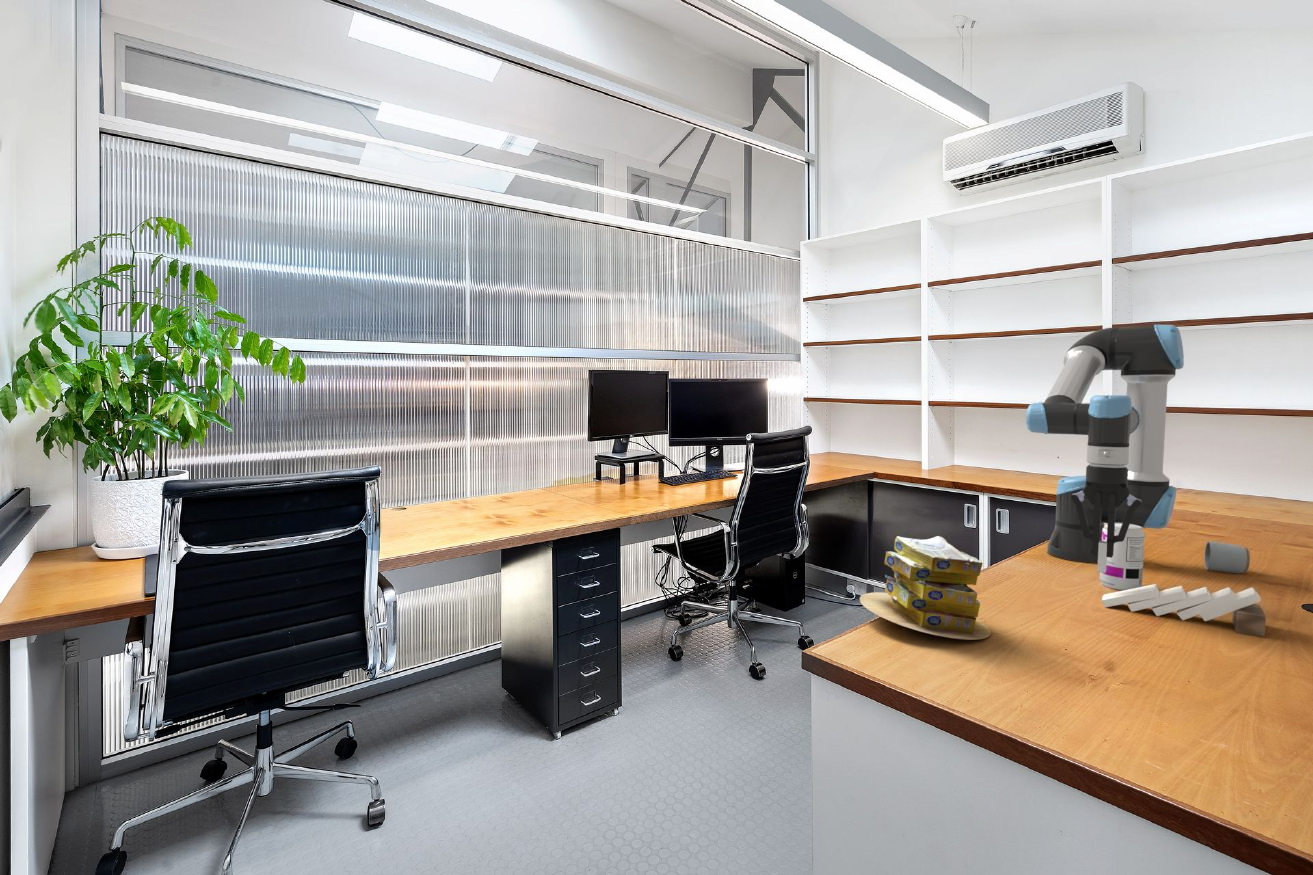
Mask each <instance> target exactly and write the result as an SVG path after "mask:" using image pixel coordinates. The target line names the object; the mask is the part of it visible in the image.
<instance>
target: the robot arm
mask: <svg viewBox="0 0 1313 875" xmlns="http://www.w3.org/2000/svg"><path fill="white" fill-rule="evenodd" d="M1184 356H1185V355H1184V346H1183V340H1182V336H1181V332H1180V329H1179V328H1178V327H1177V326H1176V325H1174V324H1153V325H1152V324H1149V325H1136V326H1134V325H1132V326H1122V327H1121V326H1120V327H1106V328H1102V329H1099V330H1098V329H1097V330H1096V331H1093V332H1091V333H1089V334H1087V335H1085V336H1084V337H1082V338H1080V339H1079V340H1077V341H1076V342H1075V343H1073V344H1072V345H1071V346H1070V348H1069V349H1068V350H1067V351H1066V353H1065V356H1064V357H1063V368H1062V369H1061V371H1060V373H1059V375H1058V376H1057V378H1056V380H1055V382H1054V383H1053V386H1052V388H1051V389H1050V390H1049V393H1048V395H1047V397H1046V399H1045V400H1044V402H1042V401H1039V402H1032V403H1030V404H1029V405H1028V407H1027V409H1026V416H1025V417H1026V418H1025V421H1026V422H1025V423H1026V428H1027V429H1028V431H1029V432H1030V433H1035V434H1037V433H1038V434H1045V435H1048V434H1050V435H1051V434H1052V435H1077V436H1079V435H1081V436H1087V444H1086V446H1087V447H1086V463H1087V464H1088V465H1087V466H1086V468H1085V475H1074V476H1066V477H1062V478H1060V479H1058V482H1057V486H1056V492H1055V495H1056V501H1055V527H1054V529H1053V531H1052V534H1051V536H1050V538H1049V541H1048V543H1047V548H1046V549H1047V550H1046V552H1047V554H1048V555H1050V556H1052V557H1055V558H1059V559H1062V560H1068V561H1069V560H1070V561H1075V562H1080V563H1081V562H1082V563H1097V571H1096V572H1098V573H1100V572H1104V573H1106V566H1107V557H1110V558H1112V556H1113V552H1114V543H1116V542H1122V541H1124V538H1125V536H1126V533H1127V530H1128V527H1129V525H1130V524H1133V525H1138V526H1141V527H1142V529H1154V530H1155V529H1156V530H1161V529H1162V530H1163V529H1165V528H1166V527H1167V526H1168V524H1170V523H1169V522H1170V521H1171V517H1172V514H1173V510H1174V507H1175V502H1176V497H1177V487H1175V486H1173V485H1170V480H1171V479H1170V478H1169V477H1168V476H1166V475H1165V473H1164V472H1163V470H1164V453H1165V435H1166V421H1167V419H1166V418H1167V402H1168V400H1167V399H1168V398H1167V397H1168V383H1169V382H1170V381H1171V380H1173V378H1175V377H1176V374H1177V372H1176V370H1180V369H1183V368H1184V365H1185V364H1184ZM1102 371H1120V378H1121V379H1122V380H1124V381H1125V382H1126V395H1125V394H1124V395H1123V394H1122V395H1121V394H1120V395H1119V394H1117V395H1116V394H1115V395H1113V394H1112V395H1110V394H1109V395H1105V394H1103V395H1102V394H1101V395H1097V394H1096V395H1093V396H1091V397H1090V399H1089V403H1086V402H1085V403H1083V400H1084V398H1085V397H1086V395H1087V393H1088V390H1089V389H1090V387H1091V385H1092V383H1093V381H1094V378H1095V377H1096V376H1097V375H1099V374H1100V373H1101V372H1102ZM1106 523H1108V527H1107V541H1102V529H1103V528H1104V527H1105V524H1106ZM1115 523H1122V526H1121V529H1120V532H1119V534H1118V535H1116V536H1114V534H1115Z"/></svg>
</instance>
